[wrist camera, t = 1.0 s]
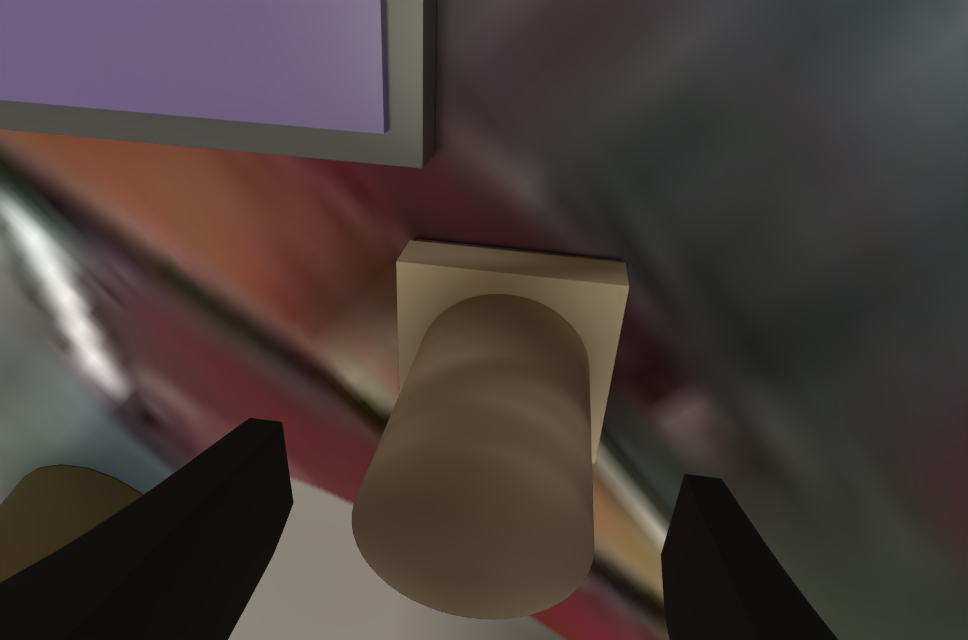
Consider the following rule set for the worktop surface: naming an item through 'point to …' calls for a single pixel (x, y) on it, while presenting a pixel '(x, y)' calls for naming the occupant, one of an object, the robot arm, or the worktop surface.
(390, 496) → the stamp
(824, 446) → the worktop surface
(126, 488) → the cork
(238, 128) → the ink pad
